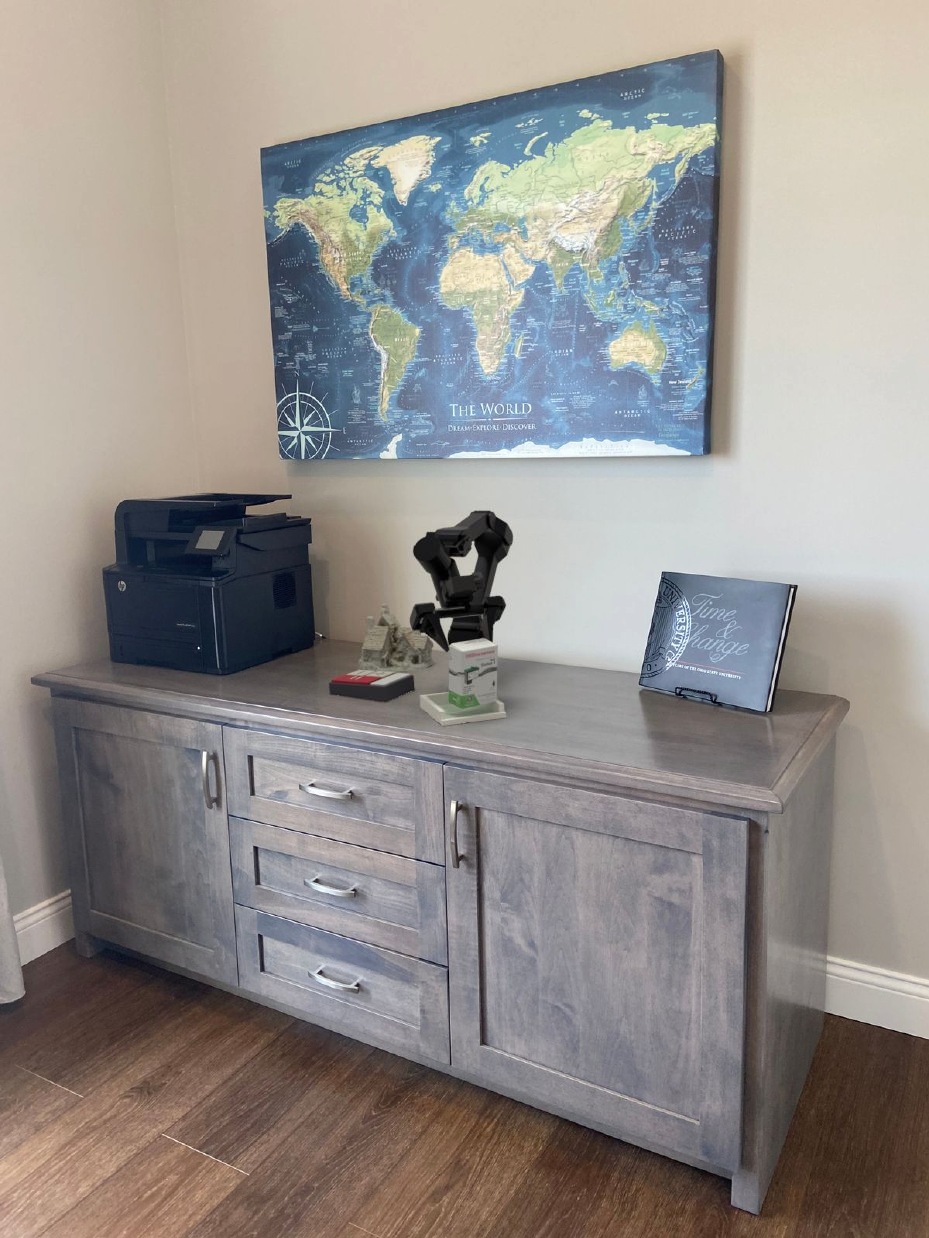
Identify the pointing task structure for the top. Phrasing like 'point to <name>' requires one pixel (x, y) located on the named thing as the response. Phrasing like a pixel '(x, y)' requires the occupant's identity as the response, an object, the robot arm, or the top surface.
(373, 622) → the ceramic cottage
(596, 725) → the top surface
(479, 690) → the ink box
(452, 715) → the bay
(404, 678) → the calculator
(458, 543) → the robot arm
